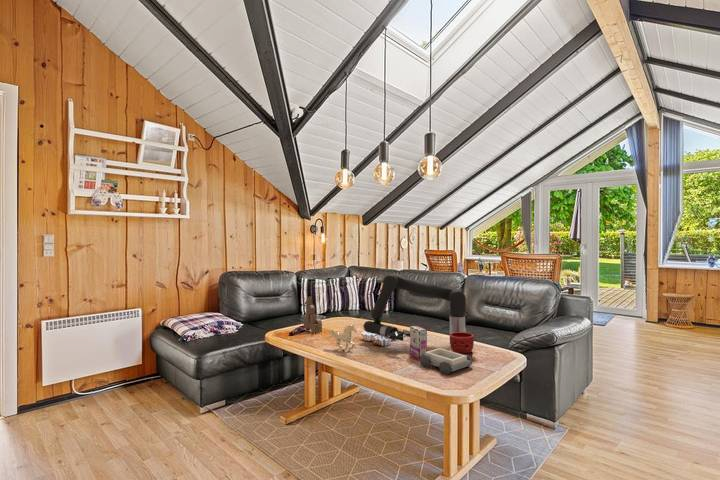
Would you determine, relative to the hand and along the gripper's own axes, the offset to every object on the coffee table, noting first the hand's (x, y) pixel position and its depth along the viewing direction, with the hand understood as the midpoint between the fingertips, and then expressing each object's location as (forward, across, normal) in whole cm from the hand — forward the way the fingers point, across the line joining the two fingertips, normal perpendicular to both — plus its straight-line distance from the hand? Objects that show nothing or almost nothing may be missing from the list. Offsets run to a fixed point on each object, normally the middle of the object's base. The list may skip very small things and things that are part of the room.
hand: (408, 337), depth 217 cm
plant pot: (+21, +21, +10) cm, 31 cm away
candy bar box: (+8, 0, +10) cm, 12 cm away
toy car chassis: (+27, 0, +10) cm, 28 cm away
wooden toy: (-80, -15, +10) cm, 82 cm away
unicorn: (-30, -24, +10) cm, 40 cm away
